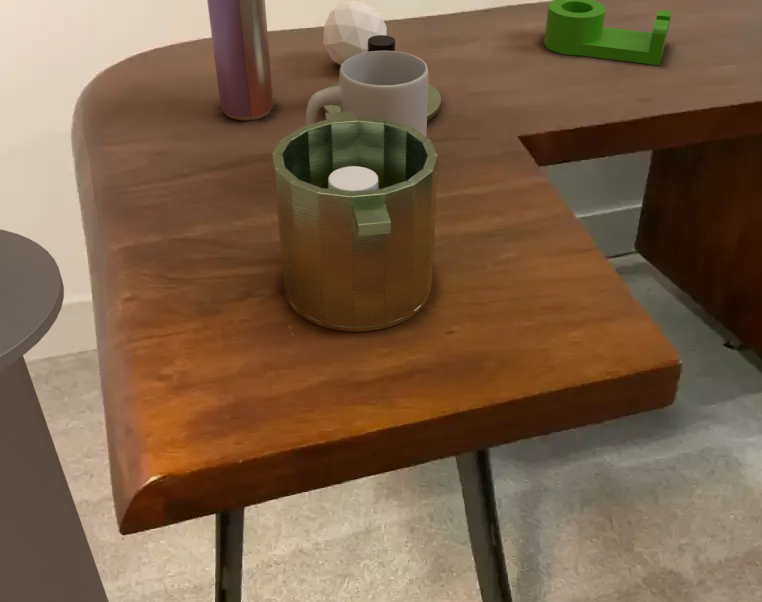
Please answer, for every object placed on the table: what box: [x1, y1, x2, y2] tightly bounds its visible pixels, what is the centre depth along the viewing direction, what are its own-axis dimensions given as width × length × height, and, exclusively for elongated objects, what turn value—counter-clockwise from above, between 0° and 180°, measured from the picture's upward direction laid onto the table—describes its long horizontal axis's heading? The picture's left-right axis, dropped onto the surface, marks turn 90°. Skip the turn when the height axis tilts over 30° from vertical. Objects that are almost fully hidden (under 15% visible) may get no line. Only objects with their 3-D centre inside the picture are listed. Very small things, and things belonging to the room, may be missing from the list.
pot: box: [271, 111, 439, 333], centre depth 75 cm, size 13×18×12 cm
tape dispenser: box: [543, 0, 673, 66], centre depth 116 cm, size 15×7×5 cm, turn 72°
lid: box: [321, 35, 442, 121], centre depth 102 cm, size 14×14×8 cm
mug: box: [305, 50, 429, 137], centre depth 90 cm, size 12×8×11 cm
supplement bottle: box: [328, 166, 379, 192], centre depth 76 cm, size 5×5×10 cm
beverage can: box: [206, 0, 274, 121], centre depth 99 cm, size 6×6×15 cm
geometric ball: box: [322, 0, 388, 66], centre depth 111 cm, size 8×8×8 cm
